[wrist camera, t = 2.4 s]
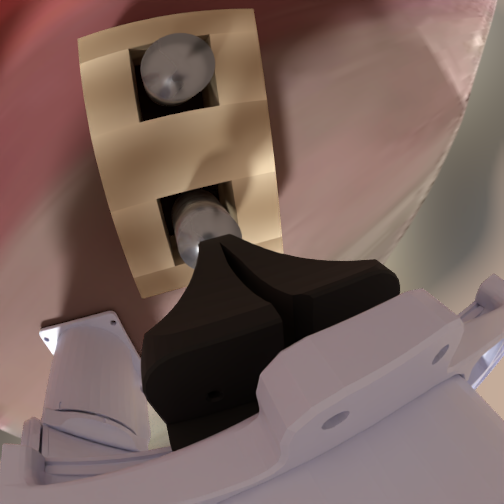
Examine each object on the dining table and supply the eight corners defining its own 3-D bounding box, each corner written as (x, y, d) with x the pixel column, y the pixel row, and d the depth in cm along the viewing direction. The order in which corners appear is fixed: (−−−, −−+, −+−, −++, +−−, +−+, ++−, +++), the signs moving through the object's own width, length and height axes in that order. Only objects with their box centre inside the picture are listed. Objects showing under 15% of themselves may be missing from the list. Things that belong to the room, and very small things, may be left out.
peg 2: (224, 229, 18) (246, 262, 14) (177, 241, 17) (186, 279, 13) (215, 183, 16) (237, 204, 12) (166, 195, 16) (170, 221, 12)
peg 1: (202, 100, 14) (219, 92, 10) (148, 112, 13) (146, 107, 9) (194, 52, 12) (210, 28, 9) (141, 63, 12) (136, 40, 8)
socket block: (258, 231, 21) (283, 258, 18) (142, 263, 19) (142, 298, 16) (230, 31, 14) (253, 8, 10) (94, 57, 12) (77, 39, 8)
